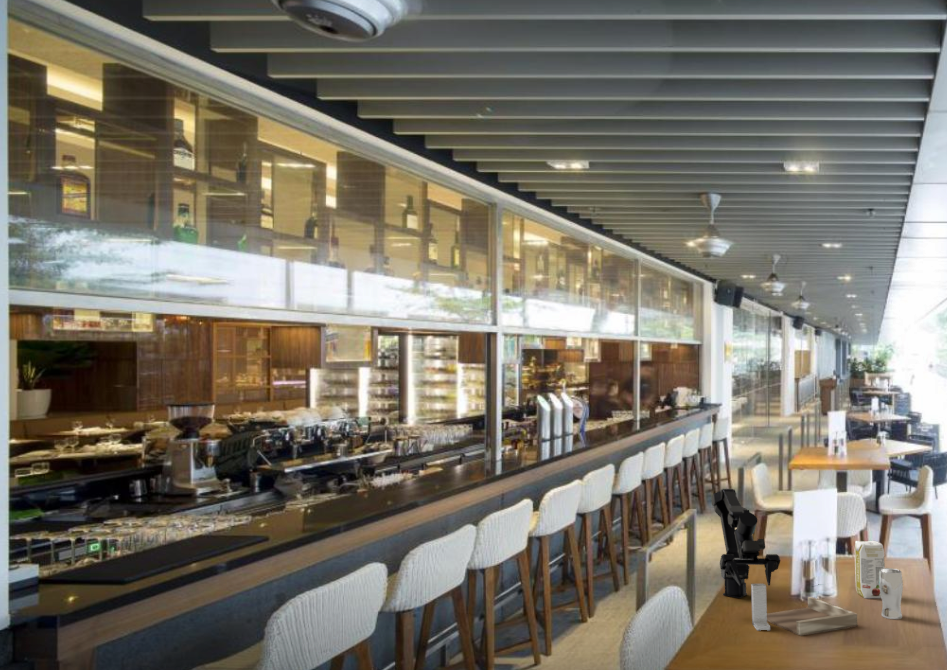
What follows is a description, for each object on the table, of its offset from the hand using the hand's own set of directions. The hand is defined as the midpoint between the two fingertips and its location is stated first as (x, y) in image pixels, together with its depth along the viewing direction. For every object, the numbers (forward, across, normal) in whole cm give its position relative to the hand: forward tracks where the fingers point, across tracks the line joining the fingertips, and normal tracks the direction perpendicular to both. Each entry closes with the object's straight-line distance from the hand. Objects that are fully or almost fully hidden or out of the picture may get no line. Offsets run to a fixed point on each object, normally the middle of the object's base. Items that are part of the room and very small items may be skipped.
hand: (754, 584), depth 268 cm
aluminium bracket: (+13, 0, +4) cm, 13 cm away
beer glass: (+4, +45, +12) cm, 47 cm away
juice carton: (-12, +47, +28) cm, 56 cm away
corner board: (+8, +16, +8) cm, 20 cm away
